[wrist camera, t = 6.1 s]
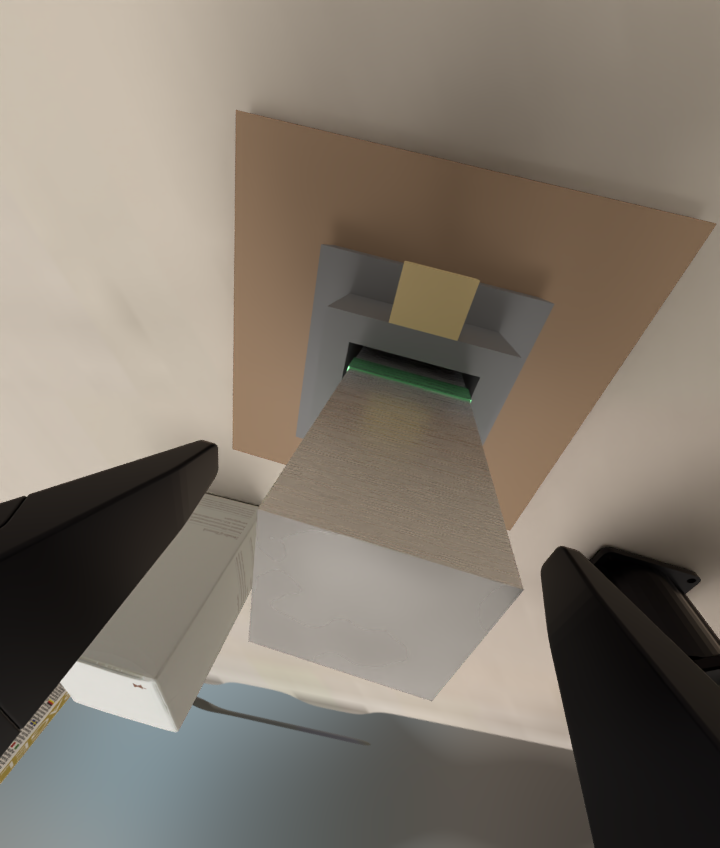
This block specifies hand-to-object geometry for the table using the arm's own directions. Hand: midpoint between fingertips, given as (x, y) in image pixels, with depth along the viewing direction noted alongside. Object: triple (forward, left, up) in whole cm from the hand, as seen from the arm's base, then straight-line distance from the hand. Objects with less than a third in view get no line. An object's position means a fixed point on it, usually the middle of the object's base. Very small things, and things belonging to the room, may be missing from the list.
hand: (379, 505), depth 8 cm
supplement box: (+11, +19, -12) cm, 25 cm away
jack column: (0, 0, -7) cm, 7 cm away
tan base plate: (0, 0, -12) cm, 12 cm away
